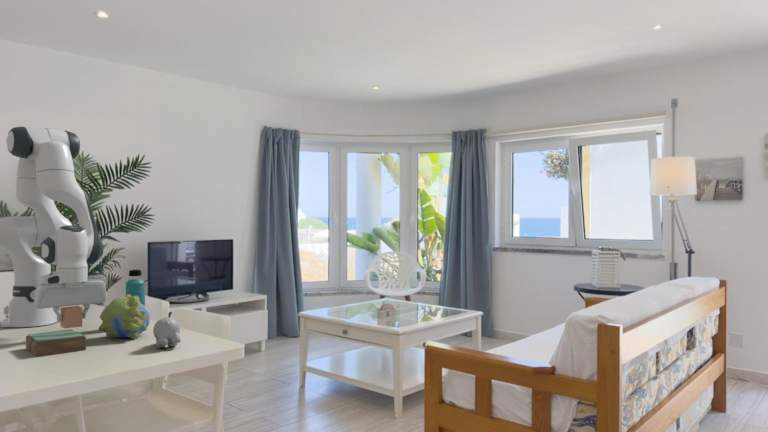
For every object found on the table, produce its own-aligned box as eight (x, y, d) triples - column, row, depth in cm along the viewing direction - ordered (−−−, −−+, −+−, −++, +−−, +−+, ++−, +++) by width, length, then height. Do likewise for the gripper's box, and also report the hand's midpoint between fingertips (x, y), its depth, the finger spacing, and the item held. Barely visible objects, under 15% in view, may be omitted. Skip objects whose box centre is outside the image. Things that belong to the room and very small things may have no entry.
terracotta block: (60, 326, 174) (60, 307, 174) (77, 324, 178) (78, 305, 178) (64, 328, 171) (64, 309, 171) (82, 326, 174) (82, 307, 174)
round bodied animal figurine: (174, 351, 165) (172, 323, 168) (183, 342, 156) (181, 313, 159) (148, 353, 161) (147, 325, 164) (157, 345, 152) (155, 315, 155)
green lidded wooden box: (25, 348, 157) (26, 334, 157) (72, 342, 166) (72, 328, 166) (37, 356, 147) (37, 341, 147) (85, 349, 156) (85, 335, 156)
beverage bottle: (140, 328, 188) (140, 270, 188) (121, 328, 188) (121, 270, 188) (148, 324, 194) (149, 268, 195) (130, 324, 194) (130, 268, 195)
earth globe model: (146, 285, 181) (96, 290, 172) (155, 305, 168) (101, 312, 160) (146, 323, 184) (96, 330, 176) (154, 346, 171) (101, 354, 163)
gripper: (103, 273, 184) (103, 314, 184) (33, 277, 169) (32, 322, 169) (109, 275, 179) (109, 317, 179) (37, 279, 165) (37, 325, 165)
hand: (71, 319), depth 174 cm, fingers closed on terracotta block, 5 cm apart
